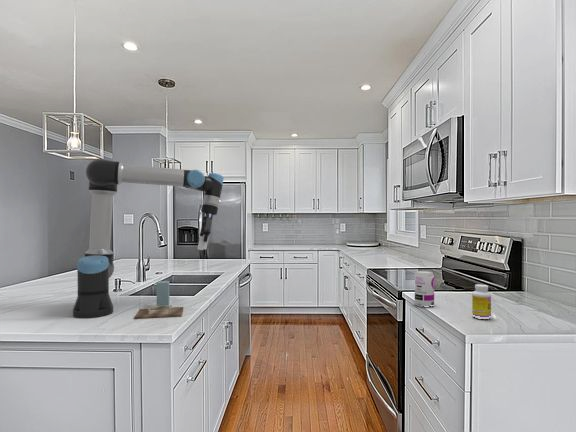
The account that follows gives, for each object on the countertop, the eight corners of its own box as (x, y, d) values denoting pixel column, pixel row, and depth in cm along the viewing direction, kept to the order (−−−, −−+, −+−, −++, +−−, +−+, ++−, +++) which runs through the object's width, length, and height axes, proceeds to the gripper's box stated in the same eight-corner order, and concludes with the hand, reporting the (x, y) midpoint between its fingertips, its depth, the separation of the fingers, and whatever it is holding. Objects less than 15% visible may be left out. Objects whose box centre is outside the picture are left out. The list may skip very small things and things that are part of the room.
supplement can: (435, 304, 182) (434, 271, 182) (433, 308, 175) (433, 273, 175) (416, 303, 186) (416, 270, 186) (413, 306, 178) (413, 272, 178)
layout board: (134, 319, 159) (134, 313, 159) (139, 310, 172) (139, 305, 172) (181, 316, 162) (181, 310, 162) (183, 308, 176) (183, 303, 176)
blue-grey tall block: (156, 308, 177) (156, 283, 177) (157, 305, 182) (157, 281, 182) (168, 307, 178) (168, 282, 178) (169, 305, 183) (169, 280, 183)
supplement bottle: (490, 321, 154) (490, 287, 154) (471, 318, 157) (471, 285, 157) (491, 317, 160) (491, 284, 160) (473, 315, 163) (473, 283, 163)
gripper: (222, 203, 183) (213, 250, 180) (214, 210, 207) (206, 251, 203) (205, 200, 181) (196, 247, 177) (199, 207, 204) (191, 248, 201)
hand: (201, 249), depth 190 cm, fingers open, 13 cm apart
